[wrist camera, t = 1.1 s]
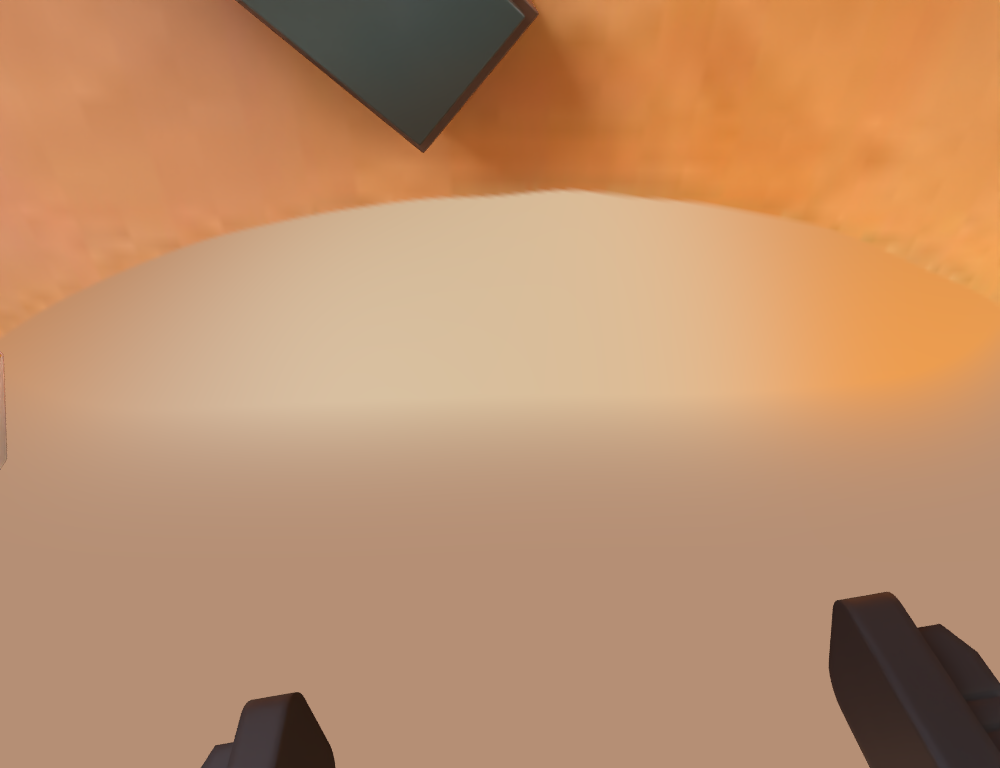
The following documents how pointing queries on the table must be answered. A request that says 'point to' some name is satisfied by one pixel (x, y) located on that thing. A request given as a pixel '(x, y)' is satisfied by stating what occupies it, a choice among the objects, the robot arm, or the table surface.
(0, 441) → the medicine bottle
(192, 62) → the table surface
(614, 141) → the table surface
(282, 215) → the table surface
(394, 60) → the pencil box
